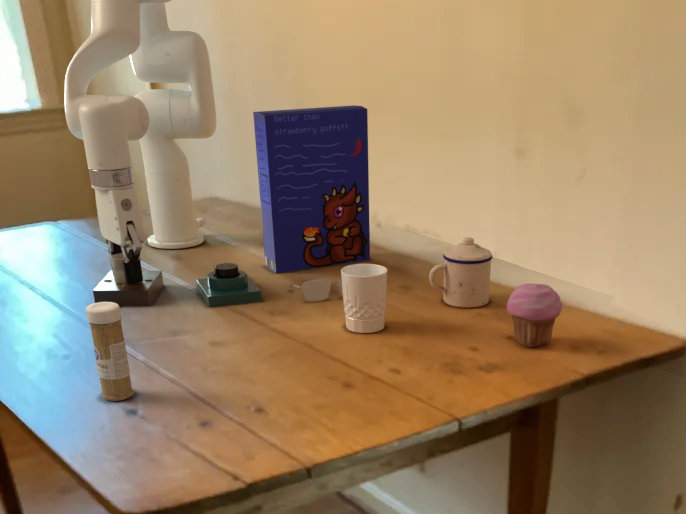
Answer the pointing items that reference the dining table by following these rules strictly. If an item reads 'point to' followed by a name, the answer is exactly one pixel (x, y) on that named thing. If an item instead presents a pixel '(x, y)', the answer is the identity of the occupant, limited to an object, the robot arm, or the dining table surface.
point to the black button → (226, 270)
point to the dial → (118, 268)
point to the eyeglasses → (318, 289)
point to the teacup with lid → (465, 275)
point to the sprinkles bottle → (110, 350)
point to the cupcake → (534, 313)
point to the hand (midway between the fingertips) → (128, 278)
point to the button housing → (228, 290)
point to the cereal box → (313, 186)
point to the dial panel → (130, 290)
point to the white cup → (364, 297)
